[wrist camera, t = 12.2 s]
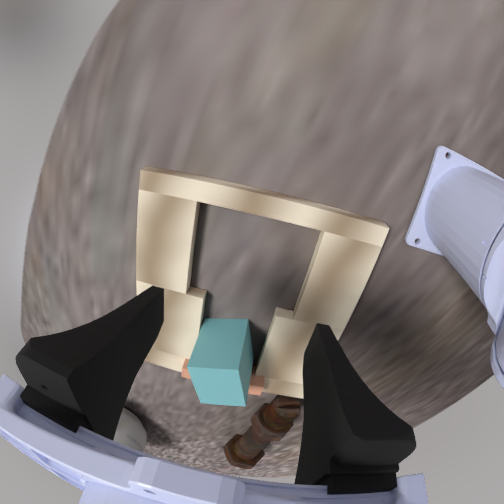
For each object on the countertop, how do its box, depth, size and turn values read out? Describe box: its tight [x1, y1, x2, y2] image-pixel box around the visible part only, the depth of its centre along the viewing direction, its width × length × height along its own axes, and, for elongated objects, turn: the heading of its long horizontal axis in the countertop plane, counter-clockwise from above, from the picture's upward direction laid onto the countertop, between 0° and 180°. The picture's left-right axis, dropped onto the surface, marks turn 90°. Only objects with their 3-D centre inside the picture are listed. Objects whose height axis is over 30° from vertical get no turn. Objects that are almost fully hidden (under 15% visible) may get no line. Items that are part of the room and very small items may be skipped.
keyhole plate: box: [136, 166, 389, 399], centre depth 24 cm, size 18×20×2 cm
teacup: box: [113, 407, 147, 452], centre depth 34 cm, size 14×11×8 cm
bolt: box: [223, 395, 301, 469], centre depth 31 cm, size 6×5×15 cm
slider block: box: [187, 319, 254, 406], centre depth 25 cm, size 4×5×6 cm
